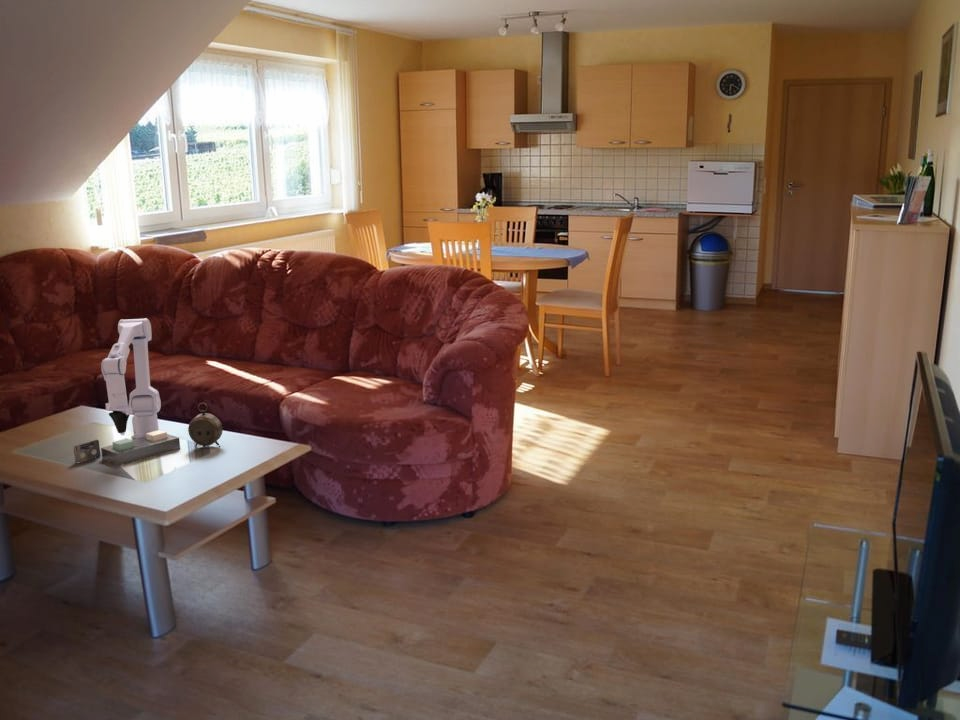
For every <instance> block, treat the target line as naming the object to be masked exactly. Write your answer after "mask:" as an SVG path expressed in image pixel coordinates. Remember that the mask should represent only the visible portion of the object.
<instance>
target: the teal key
mask: <svg viewBox="0 0 960 720" xmlns="http://www.w3.org/2000/svg"><path fill="white" fill-rule="evenodd" d="M112 445H113V449H115V450H118V451H122V450H125V449H129V448H133V447H135V446H134V441H133V439H130V438H123V439H119V440H115V441H112Z"/></svg>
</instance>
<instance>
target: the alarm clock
mask: <svg viewBox="0 0 960 720" xmlns="http://www.w3.org/2000/svg"><path fill="white" fill-rule="evenodd" d="M201 405H205V406H206V409H205V410H204V409H203V410H202V409H200V408H199V407H200V406H201ZM197 410H198V411H200V412H201V413H199V414H197V415H196V416H195V417H194V418H193V419H191V421H190V422H189V424H188V428H187V429H188V430H187V431H188V435H189V438H190V439H191V440H192V441H193V443H195V445H194V447H195V448H196V447H197V446H198V445H199V446H202V449H203V450H206V447H208V446H212V445H213V444H216V445H217V446H218V445H220V443H219V442H218V440H219V439H220V438H221V437H222V435H223V424H222V422H221V421H220V419H219V418H218V416H216V415H214V414H212V413H209V412H206V411H207V410H208V405H207V403H205V402H200V403H198V405H197Z"/></svg>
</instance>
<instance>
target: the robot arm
mask: <svg viewBox="0 0 960 720" xmlns="http://www.w3.org/2000/svg"><path fill="white" fill-rule="evenodd" d="M117 332H118V334H119V338H118V340H117V342H116V343H114V344H113V345H112V347H111V349H110V351H109V353H108V355H107V357H105V358H104V359H102V361H101V364H100V366H101V367H100V370H101V374H102V375H103V380H104V381H105V382H106V383H105V384H106V392H107V399H108V402H107V403H105V410H106V411H109V413H108V416H109V418H111V420H112V422H113V423H114V425H115V429H116V431H117V433H118V434H123V433H126V432H127V426H128V420H129V418H130V416H131V415H133V416H132V418H131V422H132V431H133V435H131V438H134V439H137V438H141V437H144V436H146V433H149V432H153V431H157V430H160V429H159V421H158V413H159V412H160V410H161V407H162V402H161V397H160V392H159V391H158V389H156V388H154V387H153V386H151V378H150V377H151V376H150V363H149V361H150V360H149V359H150V358H149V347H148V346H149V345H148V344H149V343H148V342H150V341H152V338H153V337H152V336H153V335H152V323H151V322H150V319H148V318H147V317H145V318H132V319H131V318H130V319H129V318H128V319H123V318H122V319H120V320H119V321H118V324H117ZM131 344H132V345H133V346H132V347H133V362H134V374H135V375H134V376H135V389H133V390H132V391H131V392H130V393H129V400H128V396H127V388H126V387H127V386H126V378H125V374H126V372H127V371H126V370H127V364H128V363H127V359H128V357H129V355H130V351H131V349H130V345H131ZM110 411H111V412H110Z"/></svg>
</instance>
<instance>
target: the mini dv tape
mask: <svg viewBox="0 0 960 720" xmlns="http://www.w3.org/2000/svg"><path fill="white" fill-rule="evenodd" d="M73 454H74V462H81V463H83V462H82V461H84V462H86V461H85V460H88V461H90V460H89V459H91V460H93V459H92V458H94V459H96V458H95V457H98V458H100V457H99V456H101V457H102V454H101V447H100V441H99V439H94V440H90V441H87V442H83V443H79V444H77V445H73Z"/></svg>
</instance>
